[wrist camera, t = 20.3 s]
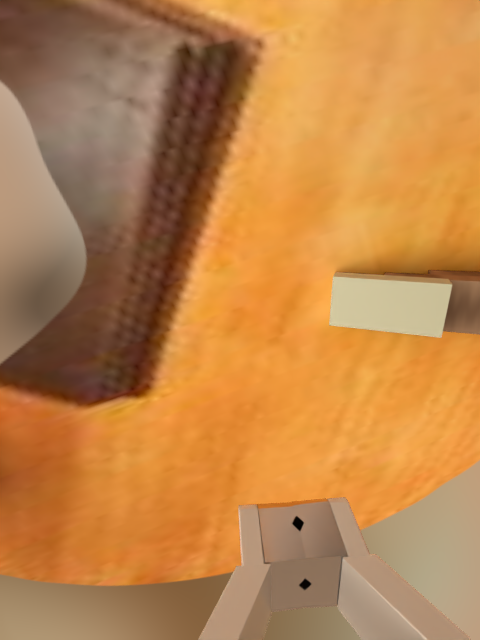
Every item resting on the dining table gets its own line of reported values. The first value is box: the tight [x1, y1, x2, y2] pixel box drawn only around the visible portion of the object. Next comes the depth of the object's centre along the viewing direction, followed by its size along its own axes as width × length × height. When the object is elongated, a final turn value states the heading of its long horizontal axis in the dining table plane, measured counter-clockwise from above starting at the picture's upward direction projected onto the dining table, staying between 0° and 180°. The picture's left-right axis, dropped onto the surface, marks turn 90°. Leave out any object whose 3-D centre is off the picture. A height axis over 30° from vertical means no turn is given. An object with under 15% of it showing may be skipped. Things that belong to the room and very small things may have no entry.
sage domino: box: [329, 272, 452, 338], centre depth 33 cm, size 5×2×10 cm
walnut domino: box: [384, 273, 480, 334], centre depth 34 cm, size 5×2×10 cm
